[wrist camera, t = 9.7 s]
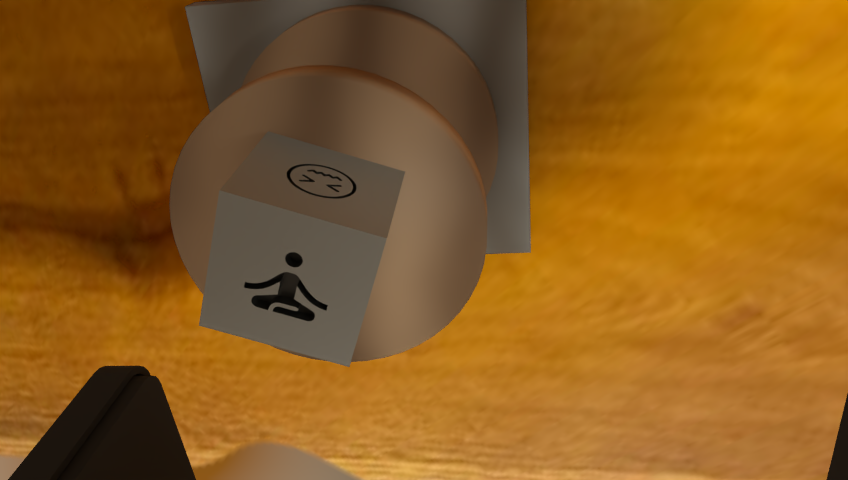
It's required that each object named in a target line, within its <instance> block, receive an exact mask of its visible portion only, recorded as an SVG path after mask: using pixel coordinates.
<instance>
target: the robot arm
mask: <svg viewBox="0 0 848 480" xmlns="http://www.w3.org/2000/svg"><path fill="white" fill-rule="evenodd" d="M8 480H196V479H195V476H194V473H193V470H192V467H191V465H190V462H189V459H188V456H187V454H186V451H185V448H184V445H183V443H182V440H181V437H180V434H179V432H178V429H177V426H176V424H175V421H174V418H173V415H172V413H171V410H170V407H169V404H168V402H167V399H166V396H165V393H164V391H163V388H162V385H161V383H160V381H159V379H158V378H157V377H156V376H151V375H150V373H149V371H148V370H147V369H146V368H145V367H142V366H104V367H101V368H99V369H98V370H97V371H96V372H95V373H94V374H93V375H92V377H91V378H90V379H89V380H88V382H87V383H86V384H85V385H84V386H83V388H82V389H81V390H80V391H79V393H78V394H77V395H76V396H75V398H74V399H73V400H72V401H71V403H70V404H69V405H68V406H67V407H66V409H65V410H64V411H63V412H62V414H61V415H60V416H59V417H58V419H57V420H56V421H55V422H54V424H53V425H52V426H51V427H50V429H49V430H48V431H47V432H46V433H45V435H44V436H43V437H42V438H41V440H40V441H39V442H38V443H37V445H36V446H35V447H34V448H33V450H32V451H31V452H30V453H29V454H28V456H27V457H26V458H25V459H24V461H23V462H22V463H21V464H20V466H19V467H18V468H17V469H16V471H15V472H14V473H13V474H12V476H11V477H10V478H9V479H8ZM827 480H848V394H847V398H846V403H845V407H844V411H843V415H842V419H841V423H840V427H839V431H838V435H837V440H836V444H835V448H834V452H833V456H832V460H831V464H830V468H829V472H828V477H827Z"/></svg>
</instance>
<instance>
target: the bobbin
mask: <svg viewBox="0 0 848 480" xmlns="http://www.w3.org/2000/svg"><path fill="white" fill-rule="evenodd" d="M185 9H186V14H187V18H188V22H189V26H190V30H191V35H192V39H193V43H194V47H195V51H196V56H197V60H198V64H199V68H200V72H201V76H202V81H203V85H204V89H205V93H206V97H207V102H208V106H209V110H210V113H209V114H208V115H207V116H206V117H205V118H204V119H203V120H202V121H201V123H200V124H199V125H198V126H197V127H196V129H195V130H194V131H193V132H192V133H191V135H190V137H189V138H188V140H187V142H186V143H185V145H184V147H183V149H182V150H181V153H180V155H179V158H178V161H177V163H176V166H175V169H174V173H173V178H172V182H171V188H170V203H169V205H170V218H171V226H172V230H173V235H174V239H175V243H176V245H177V248H178V251H179V254H180V256H181V259H182V261H183V263H184V265H185V267H186V269H187V271H188V273H189V275H190V276H191V278H192V279H193V281H194V282H195V284H196V285H197V287H198V288H199V289H200V291H201V292H202V293H203V294H204V290H205V283H206V276H207V270H208V263H209V256H210V250H211V243H212V236H213V229H214V223H215V216H216V209H217V203H218V196H219V190H220V189H221V188H222V186H223V185H224V184H225V183H226V182H227V180H228V179H229V178H230V177H231V176H232V174H233V173H234V172H235V171H236V169H237V168H238V167H239V166H240V165H241V163H242V162H243V161H244V160H245V159H246V157H247V156H248V155H249V154H250V153H251V151H252V150H253V149H254V148H255V146H256V145H257V144H258V143H259V142H260V140H261V139H262V138H263V137H264V136H265V134H266V133H267V132H268V131H269V132H272V133H276V134H279V135H282V136H286V137H289V138H293V139H296V140H299V141H303V142H306V143H310V144H313V145H316V146H320V147H323V148H327V149H330V150H333V151H337V152H340V153H344V154H347V155H350V156H354V157H357V158H361V159H364V160H367V161H371V162H374V163H378V164H381V165H384V166H388V167H391V168H395V169H398V170H401V171H405V175H404V178H403V182H402V186H401V189H400V193H399V196H398V200H397V204H396V207H395V211H394V215H393V218H392V222H391V226H390V229H389V233H388V236H387V240H386V243H385V247H384V250H383V254H382V257H381V260H380V264H379V267H378V271H377V274H376V278H375V281H374V284H373V288H372V291H371V295H370V298H369V301H368V305H367V308H366V312H365V315H364V318H363V322H362V325H361V329H360V332H359V335H358V339H357V342H356V346H355V349H354V353H353V356H352V359H351V362H356V361H368V360H374V359H379V358H385V357H388V356H391V355H395V354H398V353H401V352H404V351H406V350H408V349H411V348H413V347H415V346H417V345H419V344H421V343H423V342H424V341H426V340H428V339H429V338H431V337H433V336H434V335H435V334H437V333H438V332H439V331H440V330H442V329H443V328H444V327H445V326H447V325H448V324H449V323H450V322H451V321H452V320H453V319H454V318H455V317H456V315H457V314H458V313H459V312H460V311H461V310H462V308H463V307H464V305H465V304H466V303H467V301H468V300H469V298H470V297H471V295H472V293H473V291H474V289H475V287H476V285H477V283H478V280H479V277H480V274H481V271H482V268H483V265H484V260H485V254H497V253H526V252H531V244H530V186H529V129H528V71H527V14H526V0H217V1H204V2H194V3H192V4H190V5H187V6H185ZM270 346H272V345H270ZM273 347H275V348H277V349H280V350H283V351H286V352H288V353H291V354H294V355H298V356H303V357H307V358H311V359H317V360H323V359H319V358H315V357H312V356H308V355H304V354H301V353H297V352H294V351H290V350H286V349H283V348H279V347H276V346H273ZM324 361H326V360H324Z"/></svg>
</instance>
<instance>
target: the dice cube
mask: <svg viewBox="0 0 848 480" xmlns="http://www.w3.org/2000/svg"><path fill="white" fill-rule="evenodd" d="M404 175H405V171H401V170H398V169H395V168H391V167H388V166H384V165H381V164H378V163H374V162H371V161H367V160H364V159H361V158H357V157H354V156H350V155H347V154H344V153H340V152H337V151H333V150H330V149H327V148H323V147H320V146H316V145H313V144H310V143H306V142H303V141H299V140H296V139H293V138H289V137H286V136H282V135H279V134H276V133H272V132H269V131H268V132H267V133H266V134H265V136H264V137H263V138H262V139H261V140H260V142H259V143H258V144H257V145H256V146H255V148H254V149H253V150H252V151H251V153H250V154H249V155H248V156H247V157H246V159H245V160H244V161H243V162H242V163H241V165H240V166H239V167H238V168H237V169H236V171H235V172H234V173H233V174H232V176H231V177H230V178H229V179H228V180H227V182H226V183H225V184H224V185H223V186H222V188H221V189H220V190H219V196H218V203H217V209H216V216H215V223H214V229H213V236H212V243H211V250H210V256H209V263H208V270H207V276H206V283H205V290H204V296H203V303H202V310H201V316H200V323H199V326H203V327H207V328H210V329H214V330H218V331H221V332H225V333H228V334H232V335H236V336H239V337H243V338H247V339H250V340H254V341H257V342H261V343H265V344H268V345H272V346H276V347H279V348H283V349H286V350H290V351H294V352H297V353H301V354H304V355H308V356H312V357H315V358H319V359H323V360H326V361H330V362H333V363H337V364H341V365H344V366H348V367H349V366H350V363H351V359H352V356H353V353H354V349H355V346H356V342H357V339H358V335H359V332H360V329H361V325H362V322H363V318H364V315H365V312H366V308H367V305H368V301H369V298H370V295H371V291H372V288H373V284H374V281H375V278H376V274H377V271H378V267H379V264H380V260H381V257H382V254H383V250H384V247H385V243H386V240H387V236H388V233H389V229H390V226H391V222H392V218H393V215H394V211H395V207H396V204H397V200H398V196H399V193H400V189H401V186H402V182H403V178H404Z"/></svg>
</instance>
